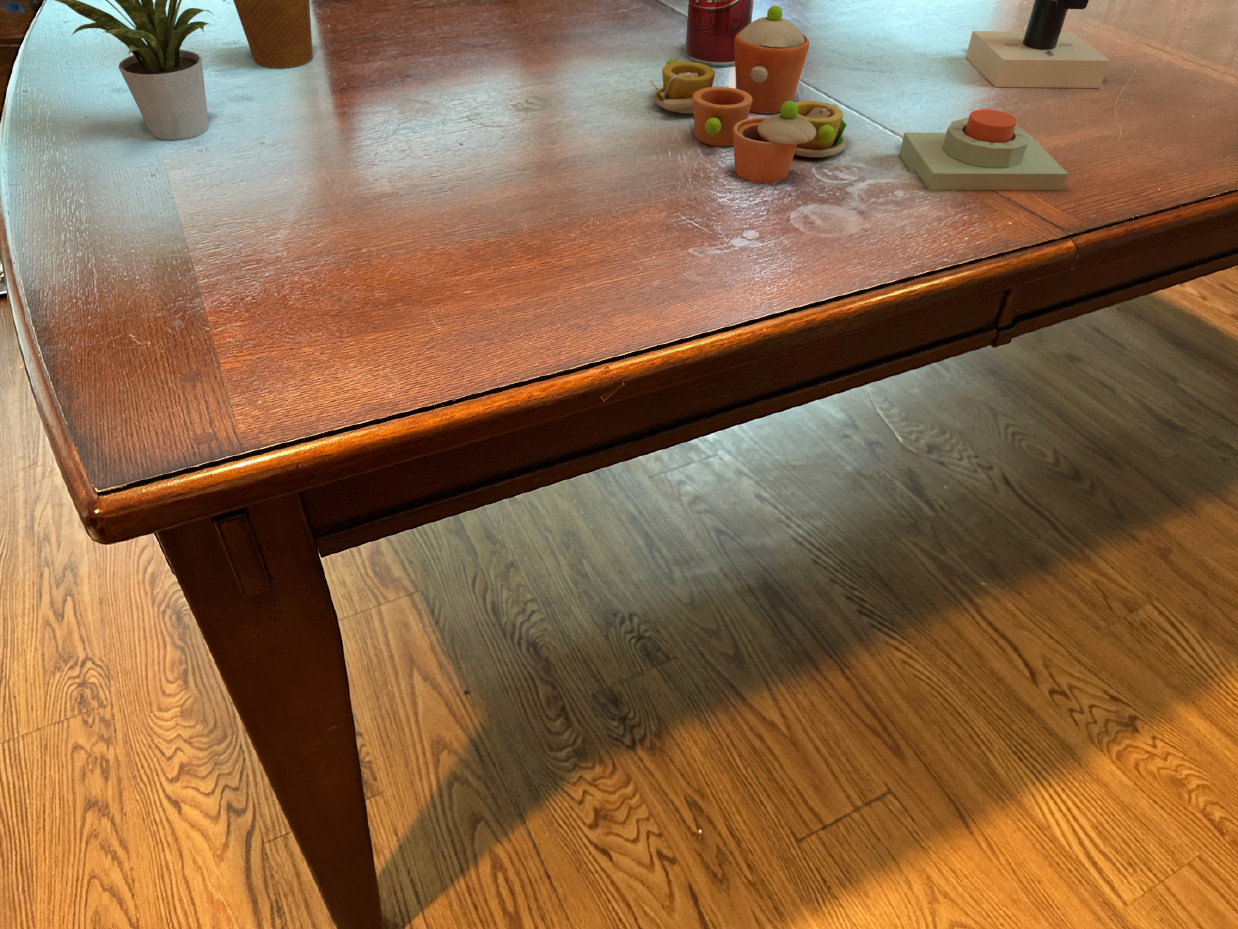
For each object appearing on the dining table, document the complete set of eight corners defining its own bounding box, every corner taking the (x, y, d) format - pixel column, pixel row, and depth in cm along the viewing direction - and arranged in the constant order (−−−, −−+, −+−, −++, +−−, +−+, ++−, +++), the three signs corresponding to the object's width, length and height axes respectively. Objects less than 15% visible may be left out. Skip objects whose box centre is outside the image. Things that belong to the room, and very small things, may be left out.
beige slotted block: (1063, 58, 111) (1072, 30, 109) (1100, 87, 104) (1110, 58, 102) (965, 57, 111) (972, 29, 109) (995, 87, 103) (1003, 57, 101)
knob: (1048, 39, 107) (1064, -11, 103) (1061, 49, 104) (1077, -2, 100) (1017, 39, 106) (1032, -12, 103) (1029, 49, 104) (1045, -3, 100)
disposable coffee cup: (222, 58, 104) (192, -63, 96) (295, 39, 109) (272, -77, 101) (271, 79, 99) (245, -46, 91) (345, 59, 105) (325, -61, 97)
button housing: (1021, 155, 89) (1035, 113, 86) (1059, 197, 82) (1075, 153, 80) (898, 154, 88) (908, 112, 86) (926, 196, 82) (938, 152, 79)
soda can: (713, 43, 112) (722, -70, 104) (760, 58, 108) (773, -57, 101) (671, 56, 108) (678, -60, 100) (719, 72, 104) (730, -47, 97)
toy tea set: (639, 94, 99) (642, -4, 92) (773, 83, 102) (785, -13, 96) (733, 201, 80) (746, 87, 74) (893, 182, 84) (918, 72, 77)
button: (1001, 128, 85) (1007, 109, 84) (1017, 146, 82) (1023, 126, 81) (958, 128, 84) (963, 108, 83) (973, 145, 81) (978, 126, 80)
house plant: (205, 87, 97) (158, -92, 86) (294, 119, 91) (255, -69, 81) (77, 128, 88) (6, -66, 78) (166, 166, 82) (103, -38, 72)
